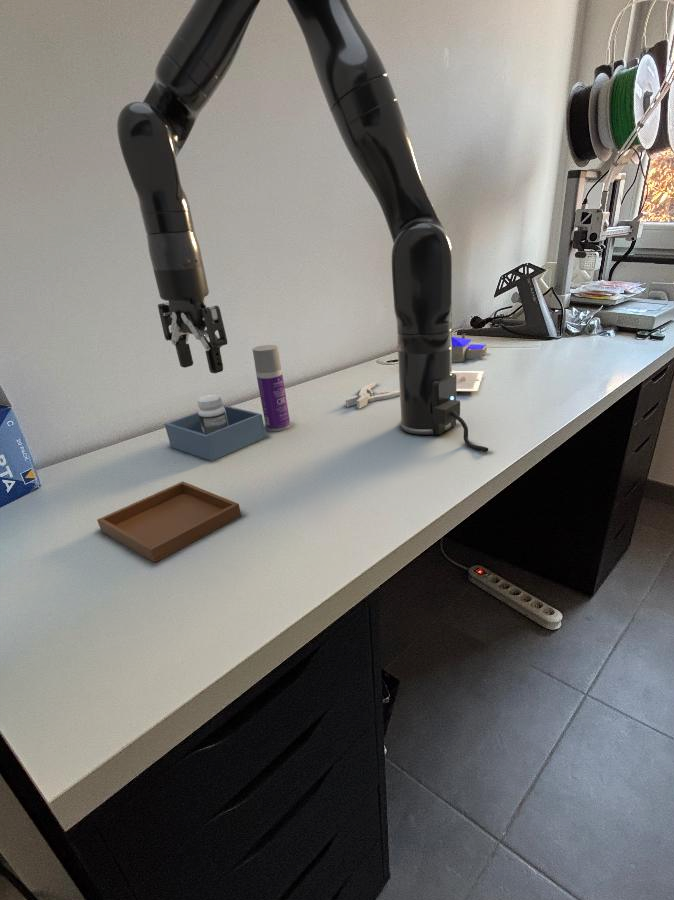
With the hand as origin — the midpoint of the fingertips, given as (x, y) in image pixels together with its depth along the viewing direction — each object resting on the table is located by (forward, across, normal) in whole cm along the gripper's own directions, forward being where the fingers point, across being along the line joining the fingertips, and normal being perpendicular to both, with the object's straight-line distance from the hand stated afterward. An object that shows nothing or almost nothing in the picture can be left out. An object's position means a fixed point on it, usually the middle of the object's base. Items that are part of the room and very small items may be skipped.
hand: (201, 369), depth 90 cm
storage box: (+13, 0, 0) cm, 13 cm away
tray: (+13, -19, +22) cm, 32 cm away
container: (+14, -4, -11) cm, 18 cm away
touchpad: (+13, -22, -50) cm, 56 cm away
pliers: (+13, -9, -34) cm, 38 cm away
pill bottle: (+14, 0, 0) cm, 14 cm away
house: (+13, -7, -70) cm, 72 cm away
